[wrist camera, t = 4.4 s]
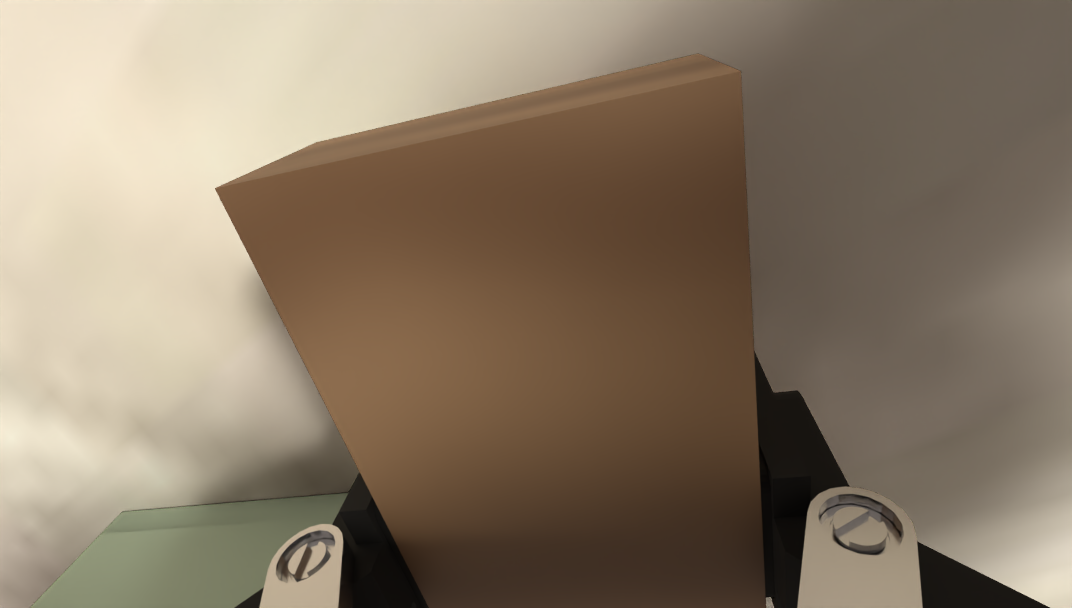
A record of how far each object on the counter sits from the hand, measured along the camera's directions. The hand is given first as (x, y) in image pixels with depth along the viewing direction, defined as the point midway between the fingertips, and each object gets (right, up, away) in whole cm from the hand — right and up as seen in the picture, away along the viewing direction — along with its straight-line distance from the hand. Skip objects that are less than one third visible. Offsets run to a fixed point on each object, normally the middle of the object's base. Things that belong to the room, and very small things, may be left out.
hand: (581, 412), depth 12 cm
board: (0, -1, -1) cm, 1 cm away
